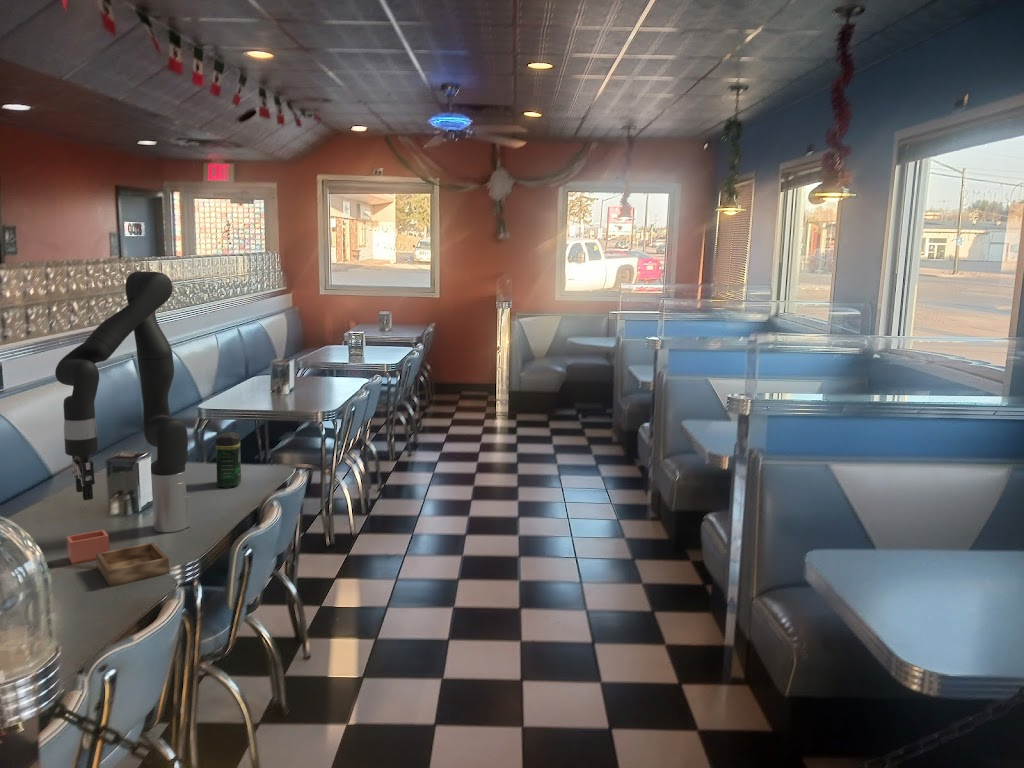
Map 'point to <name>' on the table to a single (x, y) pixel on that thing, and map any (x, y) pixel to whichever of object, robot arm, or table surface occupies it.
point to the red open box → (87, 546)
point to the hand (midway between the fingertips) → (84, 495)
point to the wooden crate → (132, 564)
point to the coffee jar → (228, 459)
